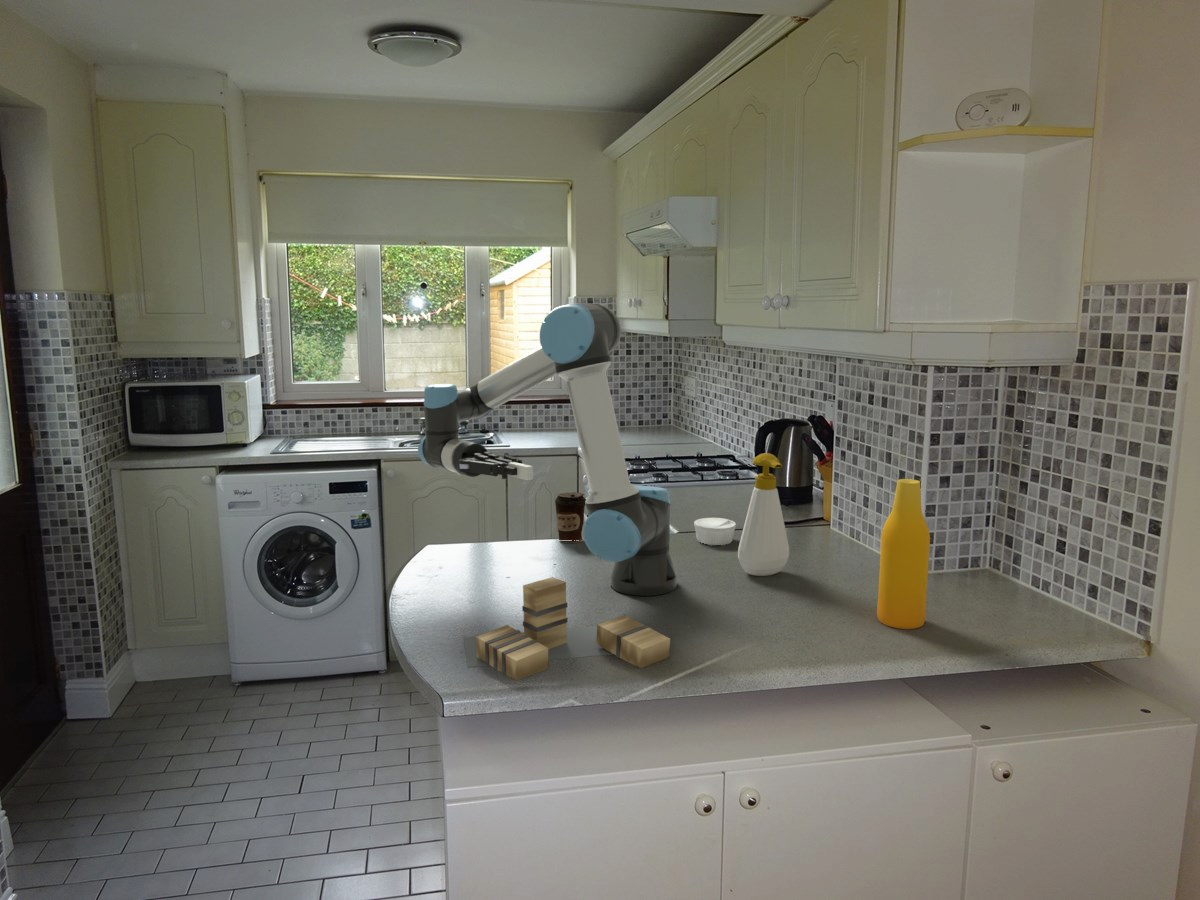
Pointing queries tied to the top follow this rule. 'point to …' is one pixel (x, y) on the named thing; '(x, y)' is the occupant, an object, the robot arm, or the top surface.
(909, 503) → the beer bottle
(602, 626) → the banded wooden block
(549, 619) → the wooden block
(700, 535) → the ramekin
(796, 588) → the top surface
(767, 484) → the soap bottle
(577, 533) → the coffee cup
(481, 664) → the mat
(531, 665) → the striped wooden block
